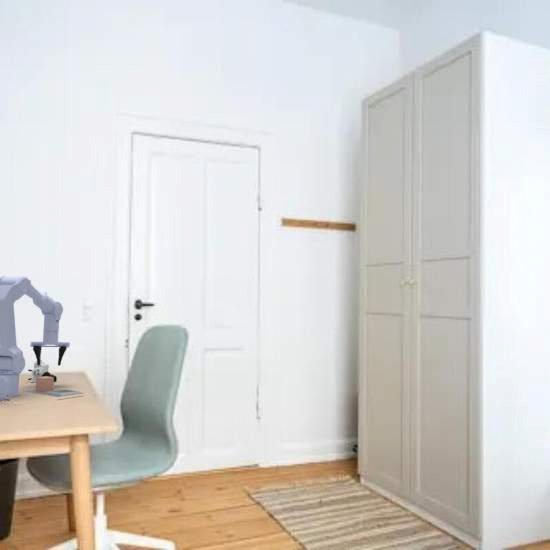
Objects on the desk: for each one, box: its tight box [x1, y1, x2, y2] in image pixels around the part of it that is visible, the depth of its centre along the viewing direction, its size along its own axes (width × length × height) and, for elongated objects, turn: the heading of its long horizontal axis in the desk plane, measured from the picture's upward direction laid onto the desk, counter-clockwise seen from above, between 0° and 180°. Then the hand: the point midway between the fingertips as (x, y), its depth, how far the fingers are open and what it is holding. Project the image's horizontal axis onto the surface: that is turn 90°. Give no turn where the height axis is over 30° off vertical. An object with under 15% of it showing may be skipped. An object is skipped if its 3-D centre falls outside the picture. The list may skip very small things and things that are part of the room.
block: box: [34, 376, 55, 392], centre depth 216 cm, size 4×4×5 cm
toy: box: [27, 359, 58, 384], centre depth 243 cm, size 6×12×15 cm
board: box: [24, 387, 83, 401], centre depth 214 cm, size 20×12×1 cm, turn 59°
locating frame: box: [46, 388, 81, 397], centre depth 211 cm, size 8×8×1 cm
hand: (49, 365), depth 227 cm, fingers open, 7 cm apart
